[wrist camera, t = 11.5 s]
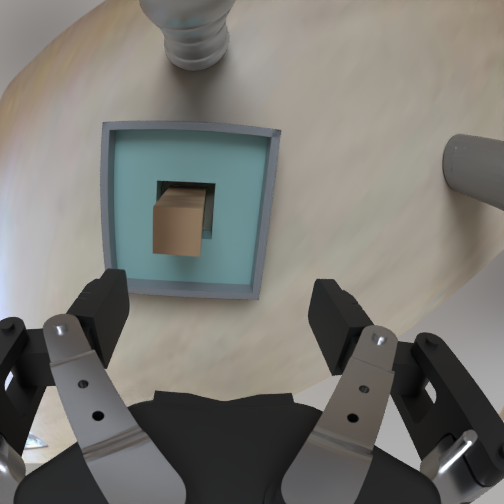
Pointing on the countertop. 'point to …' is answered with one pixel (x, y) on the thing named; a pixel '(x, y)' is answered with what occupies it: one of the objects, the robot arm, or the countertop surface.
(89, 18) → the countertop surface
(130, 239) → the box
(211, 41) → the plastic bottle
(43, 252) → the countertop surface
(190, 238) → the peg
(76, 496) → the robot arm
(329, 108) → the countertop surface
